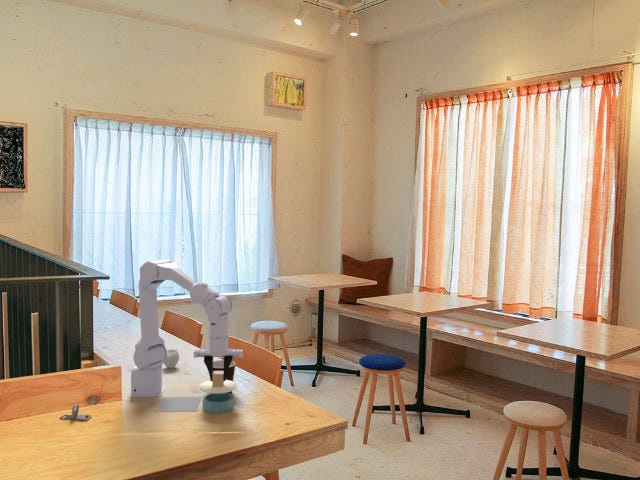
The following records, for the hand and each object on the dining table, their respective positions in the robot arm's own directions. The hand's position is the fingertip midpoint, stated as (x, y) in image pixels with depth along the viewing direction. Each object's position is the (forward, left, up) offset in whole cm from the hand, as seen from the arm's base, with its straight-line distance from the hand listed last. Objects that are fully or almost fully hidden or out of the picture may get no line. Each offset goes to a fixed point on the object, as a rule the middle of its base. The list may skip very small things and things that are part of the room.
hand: (218, 380), depth 169 cm
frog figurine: (-21, +41, -9) cm, 47 cm away
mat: (-12, +3, -9) cm, 15 cm away
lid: (0, 0, -2) cm, 2 cm away
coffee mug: (+1, +14, -9) cm, 17 cm away
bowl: (0, 0, -9) cm, 9 cm away
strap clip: (-40, -6, -9) cm, 42 cm away
